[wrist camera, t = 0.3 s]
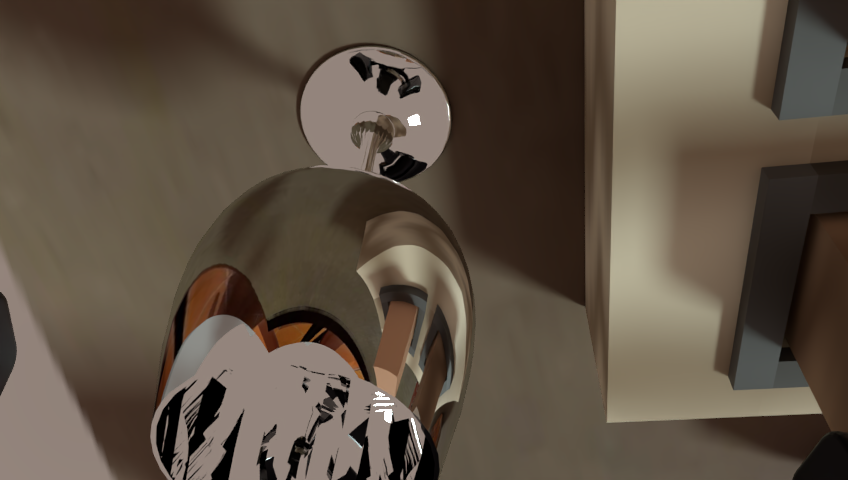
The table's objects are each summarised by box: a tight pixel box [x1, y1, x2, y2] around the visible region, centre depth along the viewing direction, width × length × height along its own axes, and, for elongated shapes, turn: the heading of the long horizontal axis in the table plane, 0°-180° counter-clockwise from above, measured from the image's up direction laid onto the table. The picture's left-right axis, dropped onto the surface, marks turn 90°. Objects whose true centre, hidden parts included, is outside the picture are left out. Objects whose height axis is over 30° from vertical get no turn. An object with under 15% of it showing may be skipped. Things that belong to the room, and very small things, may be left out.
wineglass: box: [150, 45, 476, 480], centre depth 16 cm, size 6×6×12 cm
